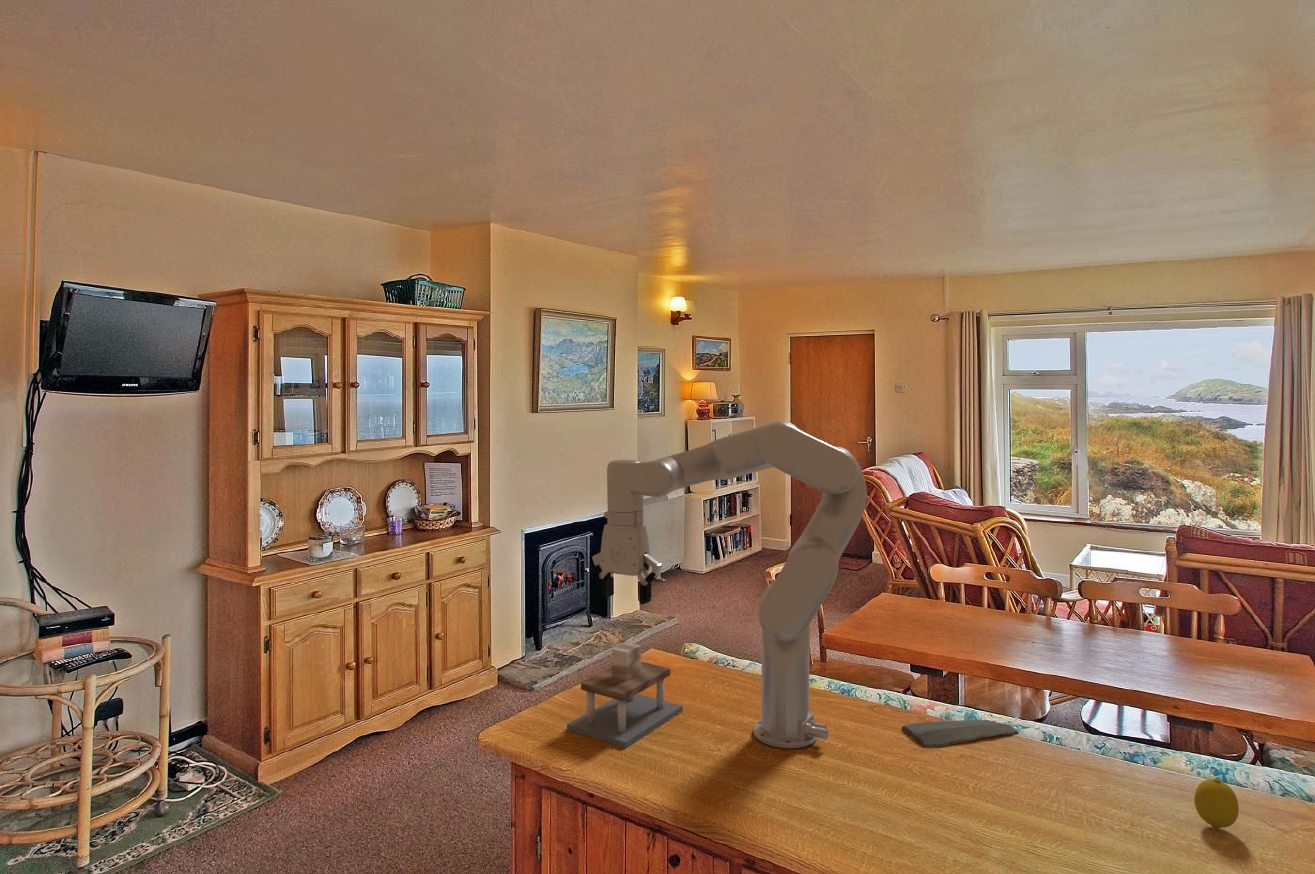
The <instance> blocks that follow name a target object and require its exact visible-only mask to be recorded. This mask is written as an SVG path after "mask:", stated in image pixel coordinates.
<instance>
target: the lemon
mask: <svg viewBox="0 0 1315 874" xmlns="http://www.w3.org/2000/svg"><path fill="white" fill-rule="evenodd" d="M1193 799H1194V807H1195V809H1196V812H1197V814H1198V815H1199V817H1200V818H1201V819H1202V820H1203V821H1204V822H1205V823H1207V825H1208V824H1209V825H1210V826H1211V827H1212V828H1213V829H1215V830H1220V829H1221V828H1229V827H1231V826H1233V824H1235V823H1236V821H1237V819H1238V817H1239V812H1240V811H1239V810H1240V809H1239V808H1240V807H1239V802H1238V801H1239V800H1238V798H1237V795H1236V793H1235V790H1233V789H1232V788H1231V787H1230V786H1229V785H1228V784H1227V783H1225V782H1223V781H1221V779H1219V778H1213V779H1212V778H1210V779H1205V780H1203V781H1202V782H1200V783H1199V784H1198V785H1197V787H1196V790H1195V792H1194V797H1193Z"/></svg>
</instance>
